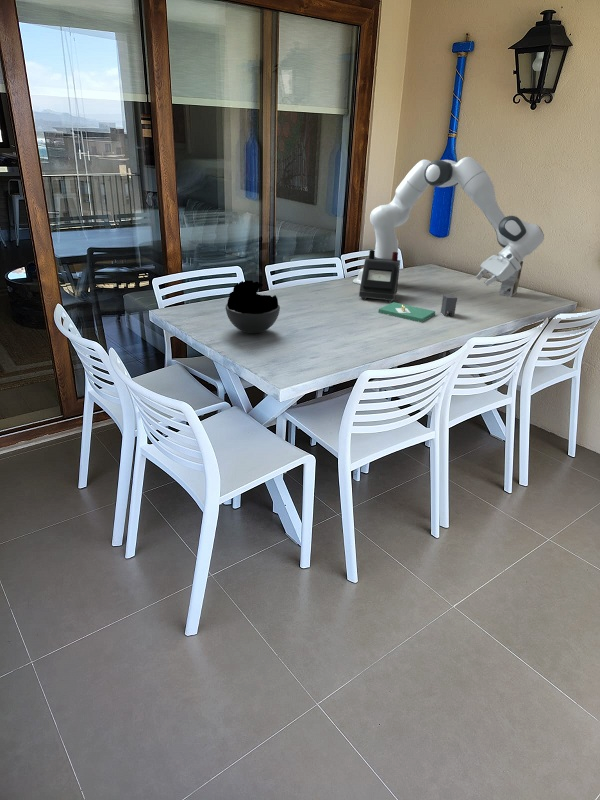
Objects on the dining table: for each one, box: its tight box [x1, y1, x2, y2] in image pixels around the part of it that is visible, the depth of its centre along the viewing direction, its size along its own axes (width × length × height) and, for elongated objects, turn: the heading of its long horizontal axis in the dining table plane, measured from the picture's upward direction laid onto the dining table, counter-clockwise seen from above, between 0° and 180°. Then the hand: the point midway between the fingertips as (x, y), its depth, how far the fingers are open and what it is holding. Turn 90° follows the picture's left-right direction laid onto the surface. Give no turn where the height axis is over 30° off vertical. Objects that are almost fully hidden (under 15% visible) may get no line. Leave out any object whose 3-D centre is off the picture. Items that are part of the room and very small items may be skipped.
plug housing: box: [440, 294, 458, 317], centre depth 232 cm, size 5×4×8 cm
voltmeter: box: [358, 249, 401, 303], centre depth 251 cm, size 16×16×20 cm
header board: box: [378, 301, 436, 323], centre depth 232 cm, size 20×14×2 cm
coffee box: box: [499, 260, 524, 298], centre depth 265 cm, size 9×6×16 cm
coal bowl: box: [225, 279, 281, 334], centre depth 200 cm, size 20×20×19 cm
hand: (481, 281), depth 228 cm, fingers open, 8 cm apart
